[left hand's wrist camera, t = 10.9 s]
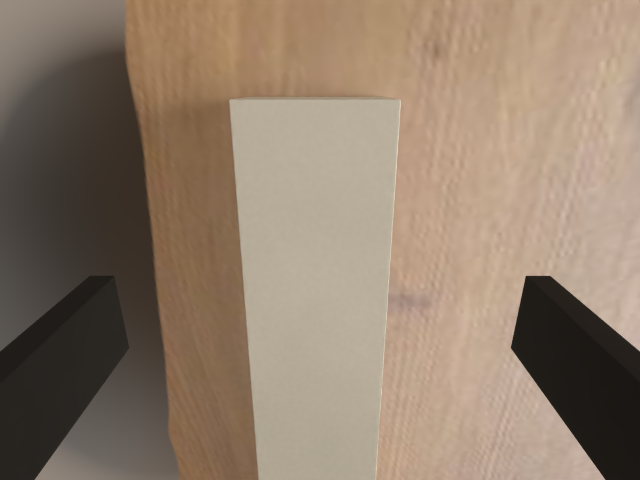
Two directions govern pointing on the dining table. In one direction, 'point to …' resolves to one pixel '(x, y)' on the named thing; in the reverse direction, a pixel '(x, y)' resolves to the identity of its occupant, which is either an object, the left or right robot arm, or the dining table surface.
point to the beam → (315, 276)
